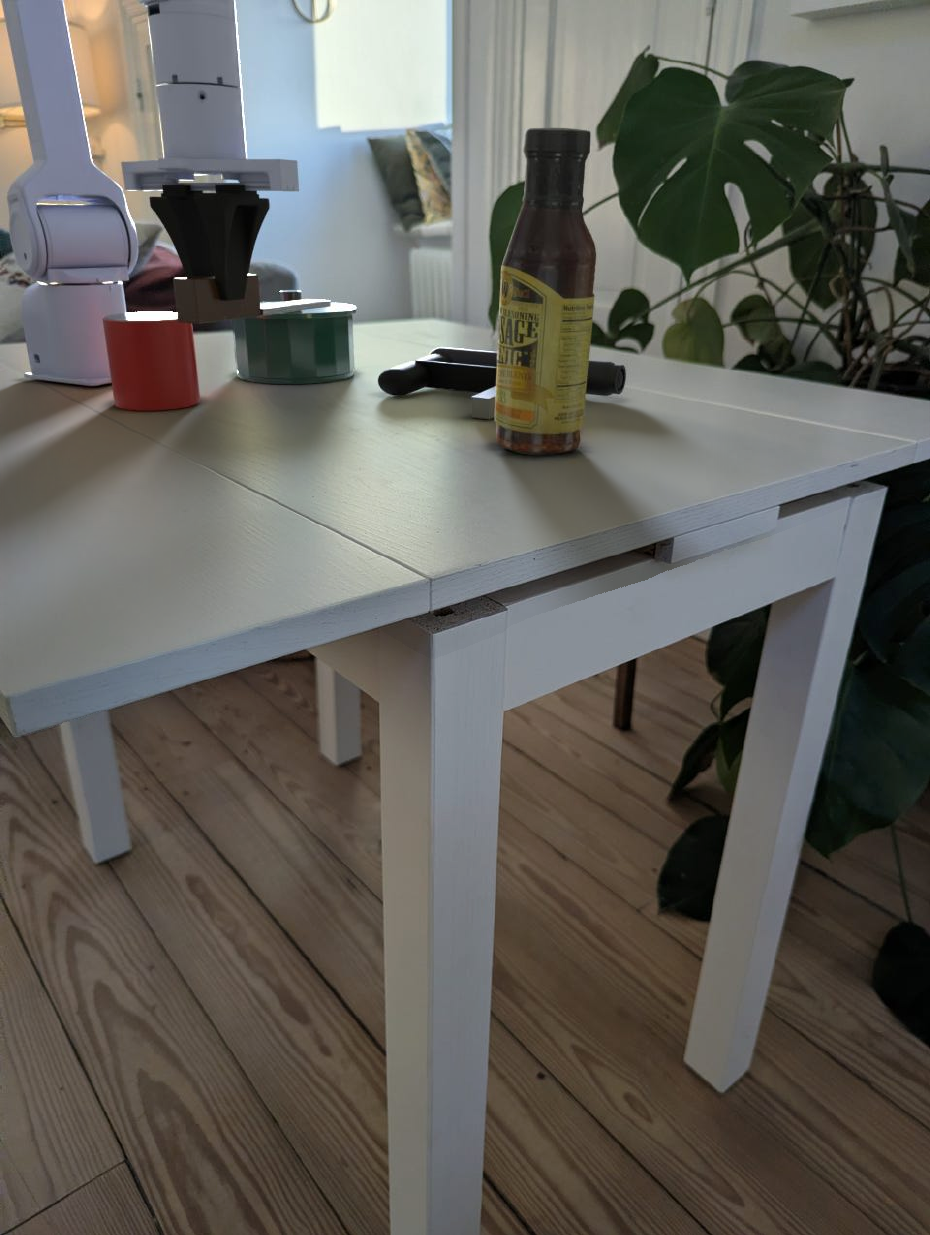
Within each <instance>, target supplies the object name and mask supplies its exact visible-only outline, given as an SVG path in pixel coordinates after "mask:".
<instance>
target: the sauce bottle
mask: <svg viewBox="0 0 930 1235" xmlns="http://www.w3.org/2000/svg"><path fill="white" fill-rule="evenodd" d="M591 134H592V133H591V131H590V130H587V129H580V128H571V127H570V128H569V127H530V128H527V129H526V130H525V133H524V142H523V150H522V151H523V154H524V157H525V159H526V160H525V161H526V162H525V175H524V194H523V197H522V204H521V208H520V211H519V214H518V217H517V219H516V223H515V225H514V229H513V231H512V234H511V237H510V239H509V242H508V246H507V248H506V250H505V251H506V252H505V254H504V257H503V259H502V260H503V261H502V263H501V266H500V279H499V282H500V285H499V286H500V287H499V288H500V289H499V309H498V310H499V311H498V321H497V323H498V324H497V350H496V352H497V375H496V395H495V417H494V423H496V429H495V431H496V434H495V435H496V436H495V437H496V442H497V445H499V446H500V447H501V448H503V449H505V450H509V451H512V452H515V453H518V454H522V455H529V456H532V455H553V454H563V453H569V452H573V451H574V450H576V449H578V448H579V446H580V443H581V441H582V439H581V438H582V437H581V429H582V428H583V427H584V422H585V421H584V420H585V408H586V397H587V394H586V387H587V375H588V364H589V360H590V354H591V341H592V330H593V318H594V306H595V293H594V284H595V275H596V264H597V251H596V250H597V248H596V244H595V241H594V239H593V237H592V234H591V233H590V229H589V227H588V226H587V223H586V221H585V217H584V212H583V210H584V209H583V208H584V202H585V197H584V185H585V175H586V162H587V160H588V158H589V155H590V152H591V137H592V136H591Z"/></svg>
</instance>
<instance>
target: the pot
mask: <svg viewBox="0 0 930 1235" xmlns="http://www.w3.org/2000/svg"><path fill="white" fill-rule="evenodd" d="M353 322H354V320H353V314H352V315H347V316H340V317H330V318H313V319H261V318H238V319H231V328H232V338H233V348H234V349H233V350H234V363H235V370H236V373H237V374H236V375H237V378H239V379H240V380H243V381H247V382H252V383H259V384H267V385H269V384H271V385H309V384H323V383H330V382H337V381H342V380H346V379H348V378H351V377H353V376H354V370H355V348H354V347H355V346H354V324H353Z"/></svg>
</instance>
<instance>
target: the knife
mask: <svg viewBox="0 0 930 1235" xmlns="http://www.w3.org/2000/svg"><path fill="white" fill-rule="evenodd" d="M172 281H173V291H174V299H175V308H176V313H177V318H178V322H182V323H192V324H195V325H200V324H209V323H216V322H222V321H229V320H230V321H232V319H238V318H246V317H253V316H260V315H262V316H264V315H272V314H279V313H286V312H294V311H301V310H309V309H316V308H323V307H330V306H331V299H330V300H329V299H327V300H326V299H316V298H315V299H313V298H305V299H302V300H296V301H288V302H281V301H279V302H280V303H271V304H263V305H260V302H261V296H260V284H259V283H260V282H259V275H258V274H255V273H254V274H253V273H248V279H247V286H246V293H245V299H240V300H231V301H222V300H220V297H219V294H218V290H217V286H216V281H215V275H212V276H198V277H186V276H185V277H174V278H173V279H172Z"/></svg>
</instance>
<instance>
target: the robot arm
mask: <svg viewBox="0 0 930 1235" xmlns="http://www.w3.org/2000/svg"><path fill="white" fill-rule="evenodd" d="M0 1H1V8H2V11H3V17H4V22H5V27H6V32H7V35H8V37H7V38H8V41H9V47H10V51H11V57H12V61H13V66H14V72H15V77H16V82H17V86H18V91H19V97H20V101H21V106H22V111H23V116H24V123H25V127H26V132H27V137H28V142H29V147H30V151H31V156H32V161H33V163H32V164H31V165H30V166H28V168H26V170H25V171H24V172H23V173H21V174H20V175H19V176H17V178H16V179H14V180H13V182H12V183H11V184H10V185H9V188H8V190H7V192H6V194H7V195H6V200H7V201H6V202H7V207H8V216H9V217H8V218H9V220H8V222H9V223H8V231H9V239H10V244H11V248H12V251H13V255H14V258H15V260H16V262H17V264H18V266H19V267H20V268H21V270H22V271H24V273H26V275H27V276H29V278H31V279H32V281H33V282H34V283H32V284H31V285H29V286H28V287H27V288H26V289H25V291H24V293H23V294H22V297H21V301H20V317H21V318H20V319H21V322H22V328H23V332H24V333H23V334H24V339H25V345H26V350H27V356H28V361H29V367H30V372H25V373H23V377H24V378H25V379H30V380H39V381H40V380H41V381H47V382H55V383H62V384H71V385H79V386H87V387H96V386H97V387H98V386H101V385H108V384H112V381H111V375H110V368H109V361H108V354H107V347H106V340H105V333H104V327H103V320H102V319H103V318H104V317H105V316H108V315H112V314H120V313H127V306H126V299H125V292H124V284H123V281H124V282H125V281H129V280H130V278H129V277H130V276H129V275H130V274H131V273H132V272H133V270H134V268H135V266H136V264H137V262H138V257H139V240H138V233H137V229H136V225H135V222H134V221H133V219H132V217H131V215H130V212H129V209H128V205H127V200H126V196H125V194H124V191H129V192H131V191H133V192H136V191H137V192H155V191H158V192H159V191H161V193H160V196H149V198H148V199H149V206H150V208H151V210H152V211H153V213H154V214H155V216H156V217H157V218H158V220H159V221H160V223H161V224H162V226H163V228H164V229H165V231H166V233H167V234H168V236H169V238H170V240H171V242H172V244H173V247H174V248H175V252H176V253H177V256H178V258H179V261H180V263H181V266H182V268H183V271H184V274H185V277H198V276H212V275H215V281H216V286H217V290H218V294H219V297H220V300H222V301H231V300H240V299H245V293H246V286H247V279H248V274H250V267H251V262H252V257H253V252H254V249H255V244H256V241H257V238H258V235H259V233H260V230H261V228H262V225H263V223H264V221H265V219H266V217H267V214H268V213H269V210H270V208H271V204H270V198H268V197H267V198H266V197H260V194H259V193H258V192H262V191H263V192H299V191H300V183H299V165H298V164H299V163H298V160H295V159H285V158H283V159H282V158H248V153H247V152H248V151H247V140H246V125H245V124H246V123H245V115H244V114H245V112H244V100H243V99H244V98H243V85H242V73H241V64H240V63H241V59H240V49H239V48H240V47H239V35H238V22H237V8H236V0H139V3H140V4H141V5H143V6H144V7H146V12H147V21H148V29H149V30H148V31H149V40H150V48H151V58H152V67H153V75H154V84H155V93H156V94H155V95H156V102H157V110H158V120H159V129H160V137H161V146H162V154H163V157H157V158H156V159H149V160H137V161H136V160H134V161H130V160H129V161H121V162H120V163H121V171H122V172H121V173H122V180H123V187H124V189H123V188H122V187H121V186H120V185H119V184H118V183H117V182H115V180H113V179H112V178H111V177H110V176H108V175H107V174H105V173H104V172H103V171H102V170H101V169H99V167H97V166H96V165H95V164H94V163H93V159H92V153H91V147H90V142H89V137H88V131H87V125H86V121H85V115H84V110H83V104H82V98H81V97H82V96H81V93H80V88H79V80H78V76H77V71H76V70H77V69H76V65H75V60H74V54H73V48H72V43H71V36H70V31H69V25H68V21H67V15H66V9H65V3H64V0H0ZM195 176H220V177H221V180H225V181H237V182H193V181H195ZM180 181H184V182H180ZM185 181H187V182H185ZM191 181H192V182H191ZM205 191H206V192H205ZM39 201H41V202H42V201H43V202H44V201H47V202H49V201H52V202H83V204H81V203H80V204H78V203H77V204H76V203H39ZM84 203H88V204H84Z"/></svg>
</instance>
